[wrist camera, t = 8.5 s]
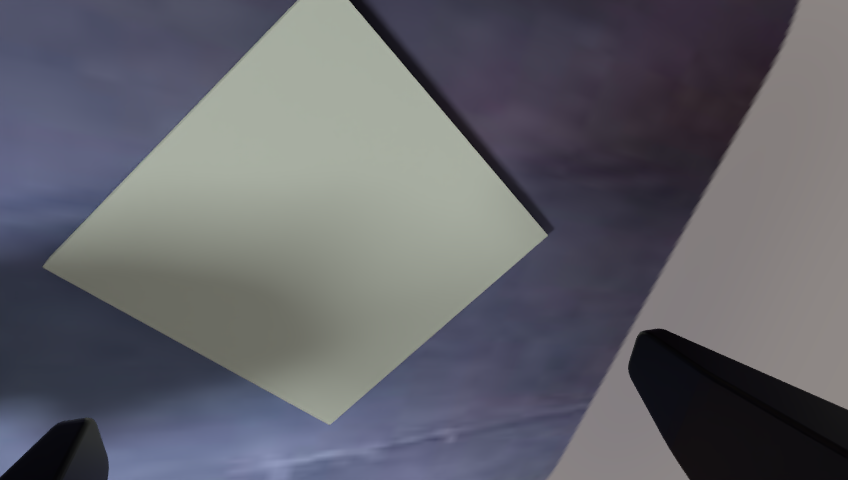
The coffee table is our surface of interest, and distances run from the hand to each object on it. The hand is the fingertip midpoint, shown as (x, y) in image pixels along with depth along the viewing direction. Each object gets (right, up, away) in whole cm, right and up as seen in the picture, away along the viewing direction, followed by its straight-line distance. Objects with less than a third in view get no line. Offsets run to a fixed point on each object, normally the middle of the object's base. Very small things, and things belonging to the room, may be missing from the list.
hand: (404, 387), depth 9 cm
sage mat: (-4, +2, +13) cm, 14 cm away
